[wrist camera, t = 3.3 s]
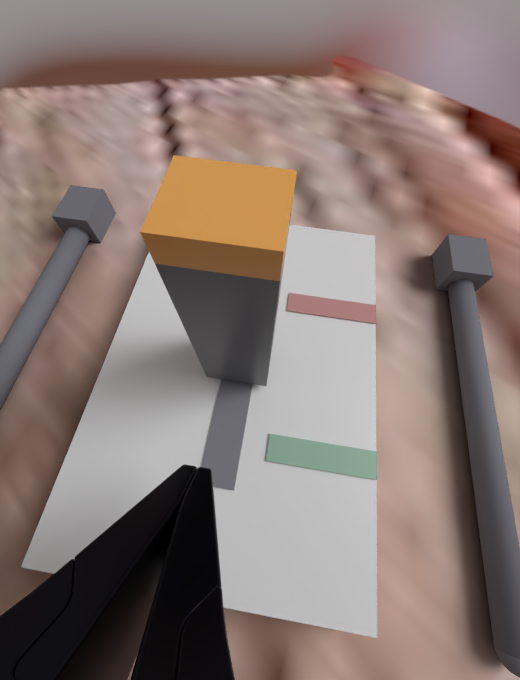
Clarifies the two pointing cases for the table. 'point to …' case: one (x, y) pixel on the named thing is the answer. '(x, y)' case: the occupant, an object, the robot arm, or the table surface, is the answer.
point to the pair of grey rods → (478, 404)
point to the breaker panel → (246, 441)
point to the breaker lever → (223, 258)
